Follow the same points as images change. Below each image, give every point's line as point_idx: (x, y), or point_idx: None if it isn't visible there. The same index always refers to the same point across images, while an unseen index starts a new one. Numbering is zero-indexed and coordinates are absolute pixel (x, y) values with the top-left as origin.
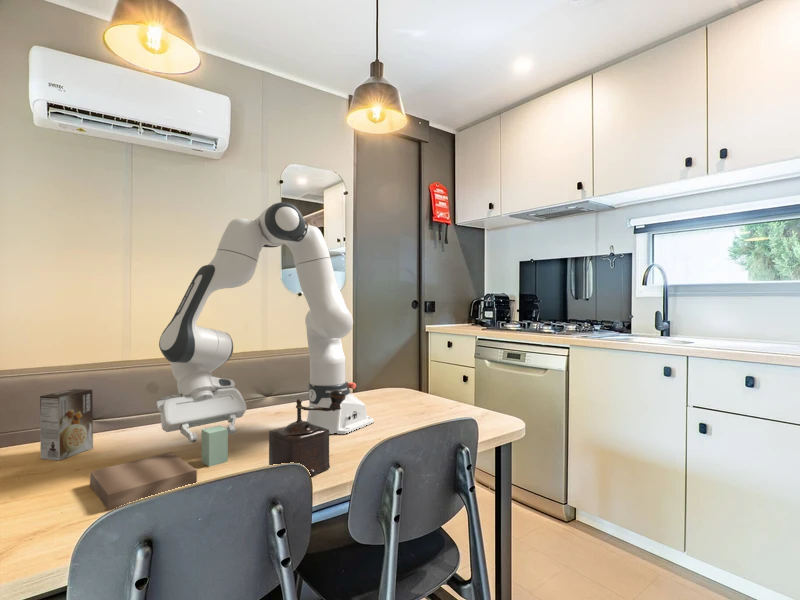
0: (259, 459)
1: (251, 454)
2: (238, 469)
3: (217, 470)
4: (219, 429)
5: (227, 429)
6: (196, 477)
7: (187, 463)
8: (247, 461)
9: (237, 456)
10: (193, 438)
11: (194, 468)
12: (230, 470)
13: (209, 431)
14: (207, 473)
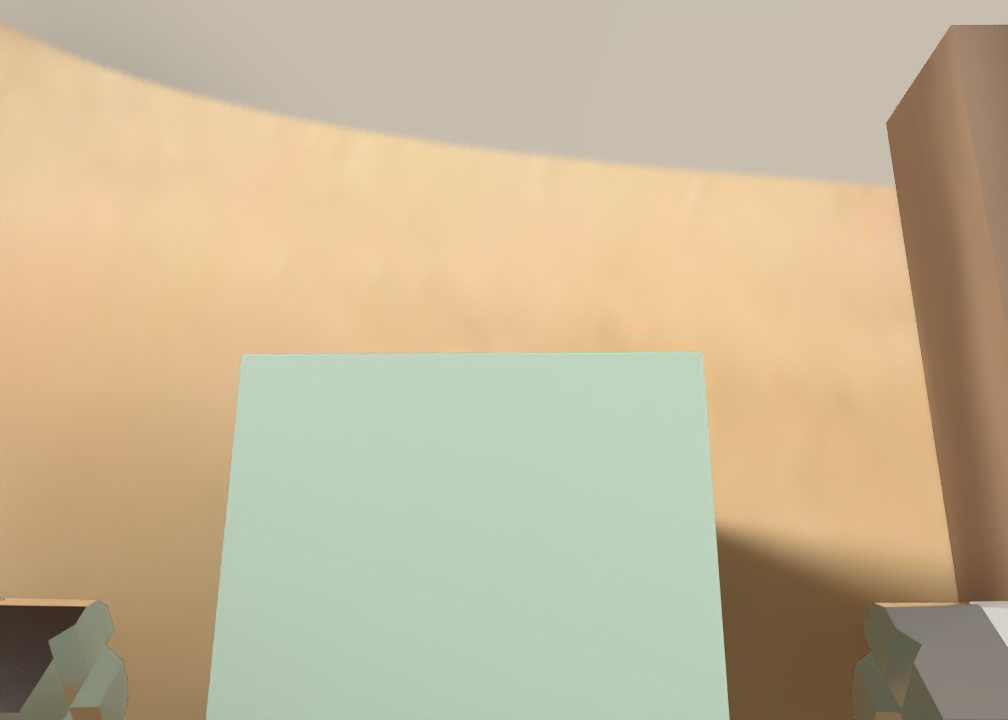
0: (79, 272)
1: (22, 512)
2: (409, 170)
3: (590, 308)
4: (389, 483)
5: (249, 359)
6: (917, 80)
7: (1005, 307)
8: (208, 316)
9: (185, 586)
10: (976, 605)
11: (963, 85)
12: (484, 205)
13: (643, 501)
14: (710, 306)
